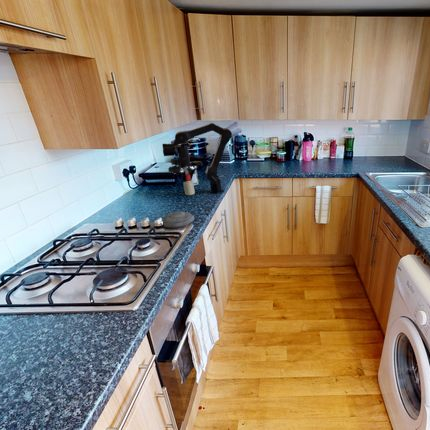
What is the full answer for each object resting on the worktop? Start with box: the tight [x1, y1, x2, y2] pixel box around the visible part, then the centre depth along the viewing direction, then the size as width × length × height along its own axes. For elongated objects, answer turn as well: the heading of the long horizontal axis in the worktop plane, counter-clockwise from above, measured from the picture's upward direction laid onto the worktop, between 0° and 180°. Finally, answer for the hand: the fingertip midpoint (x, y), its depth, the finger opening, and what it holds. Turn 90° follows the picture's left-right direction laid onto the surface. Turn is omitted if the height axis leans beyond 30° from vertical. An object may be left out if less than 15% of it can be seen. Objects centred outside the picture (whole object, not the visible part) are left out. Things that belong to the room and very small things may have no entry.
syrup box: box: [183, 161, 200, 186], centre depth 187 cm, size 6×6×14 cm
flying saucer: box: [161, 210, 195, 229], centre depth 135 cm, size 15×15×6 cm
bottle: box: [182, 180, 196, 196], centre depth 170 cm, size 6×6×11 cm
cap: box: [186, 174, 191, 181], centre depth 168 cm, size 4×4×4 cm
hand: (187, 181), depth 169 cm, fingers closed on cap, 3 cm apart
